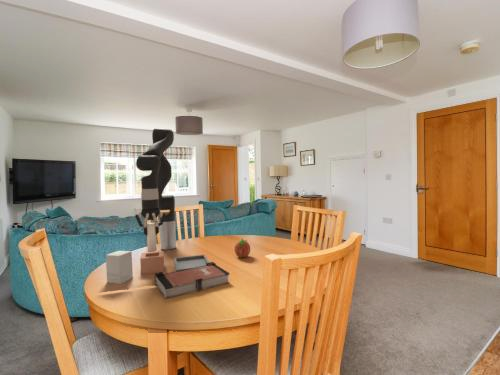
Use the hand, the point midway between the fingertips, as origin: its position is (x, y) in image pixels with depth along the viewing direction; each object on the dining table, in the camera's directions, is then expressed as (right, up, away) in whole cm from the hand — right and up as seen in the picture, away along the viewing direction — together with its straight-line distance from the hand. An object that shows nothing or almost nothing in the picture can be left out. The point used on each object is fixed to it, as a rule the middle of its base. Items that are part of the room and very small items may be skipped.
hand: (151, 234), depth 129 cm
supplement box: (-9, -18, -12) cm, 24 cm away
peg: (0, -8, 0) cm, 8 cm away
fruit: (+42, -16, +20) cm, 50 cm away
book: (+23, -18, -16) cm, 33 cm away
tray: (+18, -17, +6) cm, 25 cm away
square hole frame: (+1, -18, +1) cm, 18 cm away
